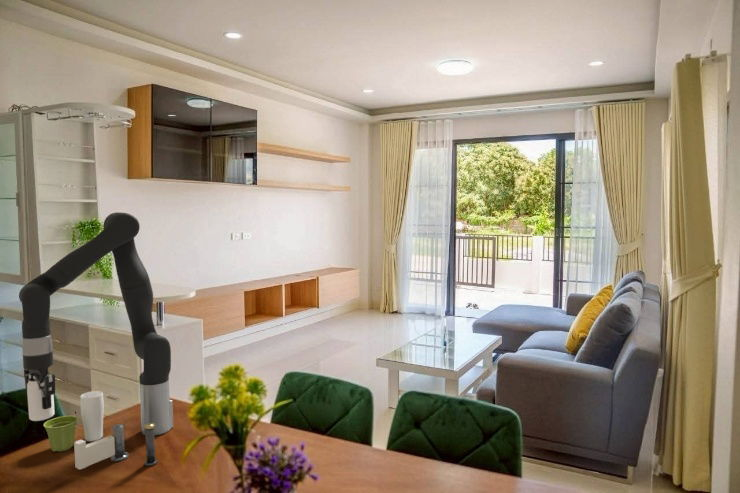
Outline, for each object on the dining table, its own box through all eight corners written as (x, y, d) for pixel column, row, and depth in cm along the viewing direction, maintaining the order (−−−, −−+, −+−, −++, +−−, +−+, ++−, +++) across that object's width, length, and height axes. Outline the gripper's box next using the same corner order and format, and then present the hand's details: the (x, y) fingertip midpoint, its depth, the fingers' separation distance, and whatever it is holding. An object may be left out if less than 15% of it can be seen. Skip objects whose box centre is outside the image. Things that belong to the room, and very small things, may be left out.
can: (27, 423, 151) (25, 383, 150) (30, 415, 157) (27, 376, 156) (53, 418, 154) (51, 379, 153) (55, 411, 160) (53, 373, 159)
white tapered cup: (95, 443, 168) (93, 398, 167) (77, 442, 170) (74, 397, 168) (110, 435, 175) (107, 391, 174) (92, 433, 176) (90, 390, 175)
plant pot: (41, 448, 166) (39, 421, 165) (73, 438, 172) (72, 413, 172) (50, 457, 159) (48, 430, 159) (83, 447, 166) (82, 420, 165)
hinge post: (122, 452, 162) (121, 421, 161) (132, 456, 159) (130, 424, 159) (107, 458, 158) (105, 426, 157) (116, 463, 155) (114, 430, 154)
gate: (110, 452, 158) (109, 428, 157) (115, 454, 156) (114, 430, 156) (75, 467, 149) (74, 442, 148) (79, 469, 147) (78, 444, 147)
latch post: (152, 459, 157) (151, 421, 156) (160, 462, 155) (158, 424, 154) (141, 464, 154) (140, 425, 153) (149, 467, 152) (147, 428, 151)
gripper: (63, 351, 153) (66, 406, 154) (39, 345, 161) (42, 397, 162) (35, 357, 147) (39, 415, 148) (12, 350, 154) (15, 405, 156)
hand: (41, 406), depth 155 cm, fingers closed on can, 6 cm apart
